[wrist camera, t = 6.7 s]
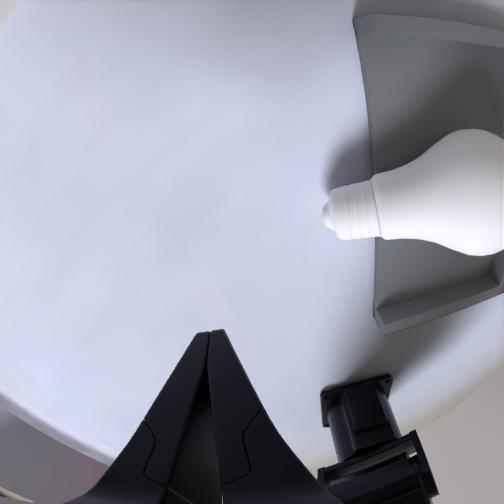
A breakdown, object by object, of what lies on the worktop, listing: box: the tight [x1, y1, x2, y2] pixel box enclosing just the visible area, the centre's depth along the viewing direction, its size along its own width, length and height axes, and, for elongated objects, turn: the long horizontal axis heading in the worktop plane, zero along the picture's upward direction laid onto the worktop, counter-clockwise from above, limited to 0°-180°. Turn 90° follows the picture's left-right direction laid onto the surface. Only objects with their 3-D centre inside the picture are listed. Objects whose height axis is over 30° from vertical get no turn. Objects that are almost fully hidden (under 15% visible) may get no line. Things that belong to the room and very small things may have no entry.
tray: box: [352, 14, 504, 335], centre depth 15 cm, size 18×11×2 cm, turn 12°
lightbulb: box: [322, 129, 504, 256], centre depth 13 cm, size 6×6×11 cm
